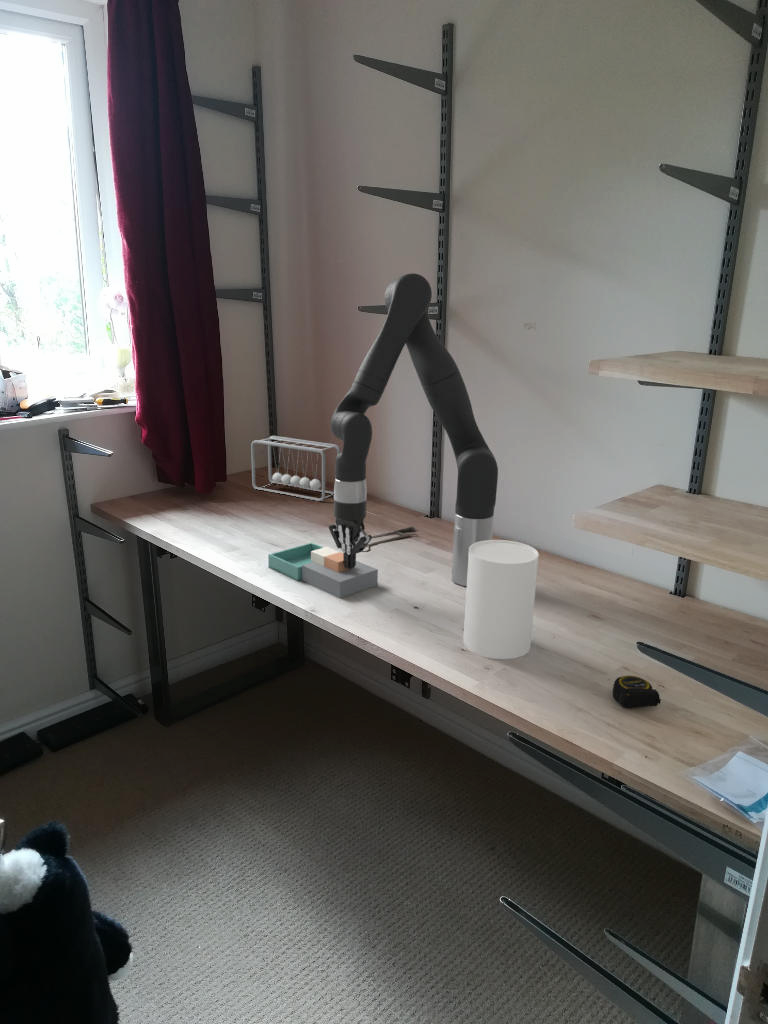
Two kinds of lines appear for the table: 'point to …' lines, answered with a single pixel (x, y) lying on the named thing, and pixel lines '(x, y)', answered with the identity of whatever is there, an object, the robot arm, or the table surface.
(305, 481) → the newton's cradle
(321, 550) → the cream tile
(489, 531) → the robot arm
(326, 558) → the terracotta tile
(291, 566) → the box
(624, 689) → the tape measure
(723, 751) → the table surface
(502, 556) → the canister
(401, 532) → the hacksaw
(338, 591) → the grey flat block
